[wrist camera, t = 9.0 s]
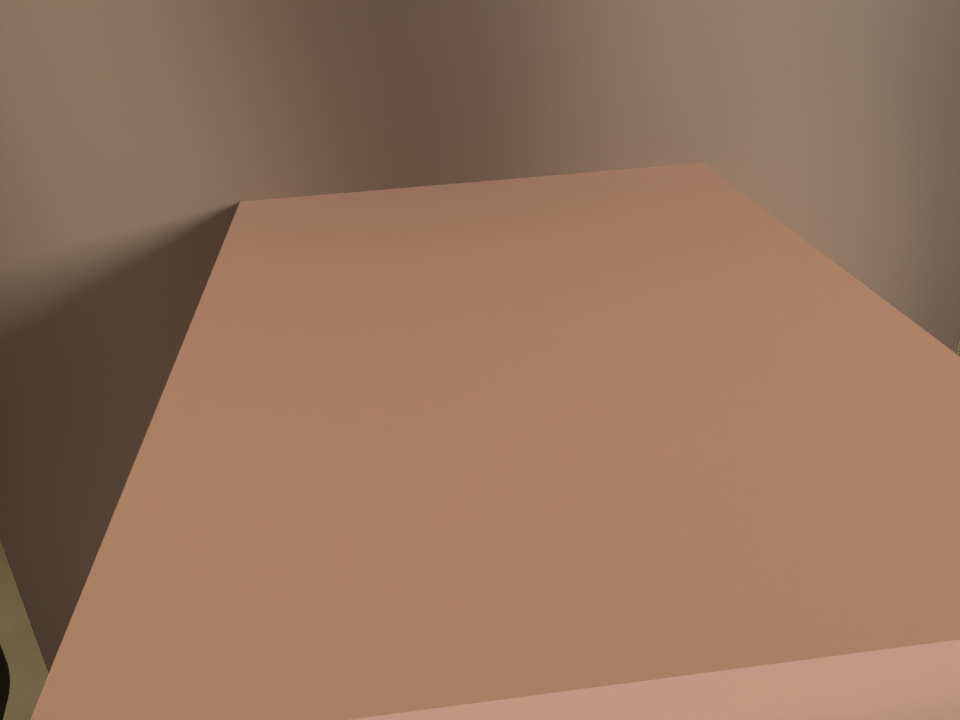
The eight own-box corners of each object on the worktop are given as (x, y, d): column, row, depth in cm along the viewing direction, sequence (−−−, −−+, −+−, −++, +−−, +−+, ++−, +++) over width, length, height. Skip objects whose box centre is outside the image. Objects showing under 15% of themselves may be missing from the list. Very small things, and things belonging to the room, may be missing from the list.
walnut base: (911, -202, 11) (1081, -234, 9) (801, 560, 17) (884, 684, 14) (-98, -154, 10) (-258, -174, 8) (136, 639, 16) (90, 789, 13)
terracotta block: (702, 162, 10) (1280, 598, 4) (680, 529, 12) (1013, 1181, 6) (239, 201, 9) (11, 765, 3) (306, 573, 12) (247, 1320, 6)
